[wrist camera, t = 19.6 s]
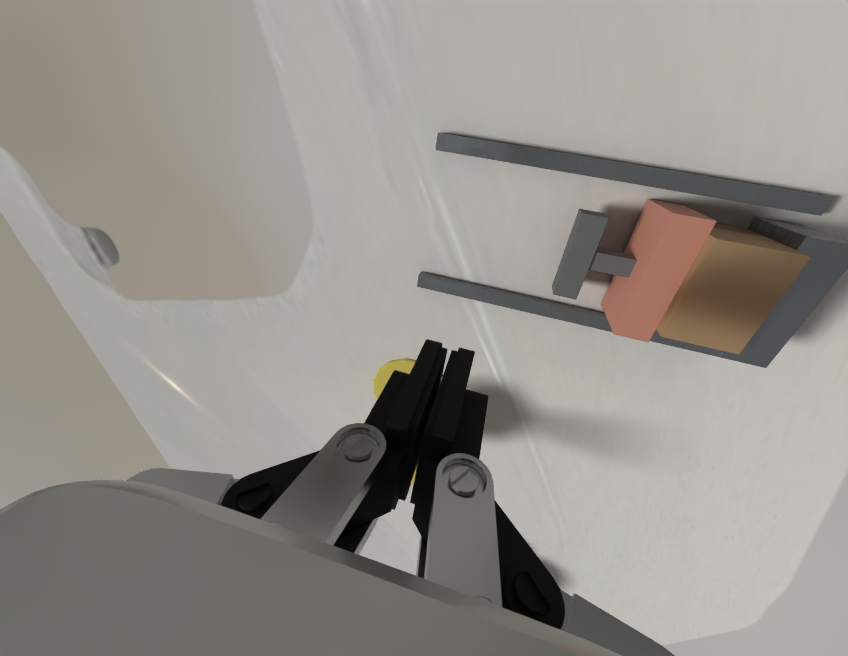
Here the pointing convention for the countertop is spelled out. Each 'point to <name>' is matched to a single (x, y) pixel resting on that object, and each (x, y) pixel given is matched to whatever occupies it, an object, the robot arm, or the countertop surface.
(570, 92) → the countertop surface
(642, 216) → the block
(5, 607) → the robot arm
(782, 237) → the vise bed
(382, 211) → the countertop surface
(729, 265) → the block
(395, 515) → the countertop surface
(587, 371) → the countertop surface
